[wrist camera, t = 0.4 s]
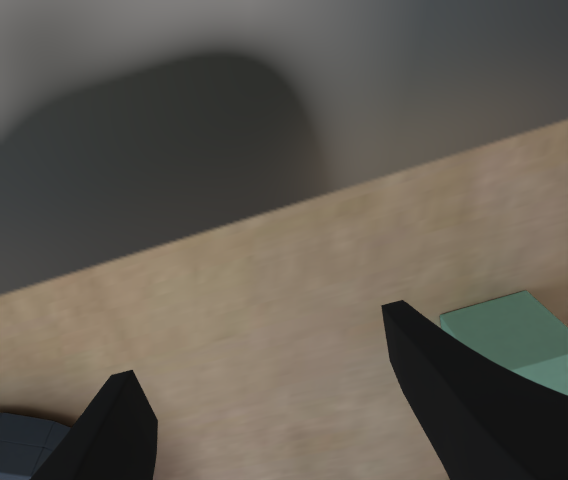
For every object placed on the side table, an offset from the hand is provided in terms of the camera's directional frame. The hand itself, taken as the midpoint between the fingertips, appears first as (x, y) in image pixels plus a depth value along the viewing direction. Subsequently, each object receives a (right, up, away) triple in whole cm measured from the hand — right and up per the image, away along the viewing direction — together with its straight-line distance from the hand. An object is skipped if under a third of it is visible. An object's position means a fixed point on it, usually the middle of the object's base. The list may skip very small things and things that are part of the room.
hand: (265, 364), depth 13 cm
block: (+12, -2, +14) cm, 18 cm away
